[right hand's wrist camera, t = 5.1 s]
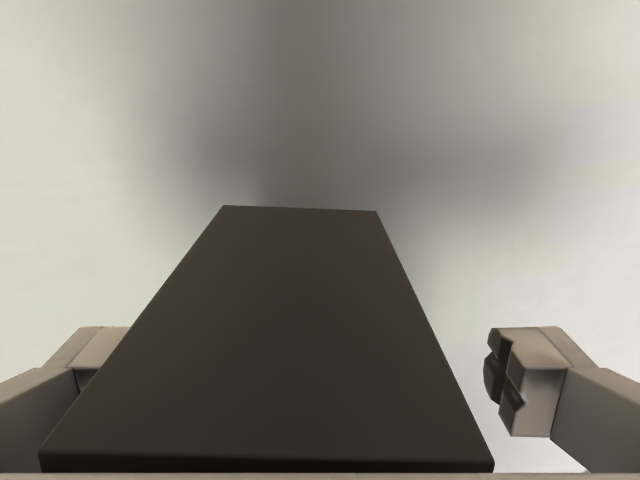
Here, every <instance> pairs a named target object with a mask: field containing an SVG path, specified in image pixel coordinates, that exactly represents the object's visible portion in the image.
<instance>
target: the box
mask: <svg viewBox="0 0 640 480" xmlns="http://www.w3.org/2000/svg"><path fill="white" fill-rule="evenodd" d="M37 454H38V459H39V463H40V467H41V471H42V473H493V470H494V466H495V462H494V459H493V457H492V455H491V453H490V451H489V448H488V446H487V444H486V442H485V440H484V438H483V436H482V434H481V432H480V429H479V427H478V425H477V423H476V421H475V419H474V417H473V415H472V413H471V410H470V408H469V406H468V404H467V402H466V400H465V398H464V396H463V394H462V391H461V389H460V387H459V385H458V383H457V381H456V379H455V377H454V375H453V372H452V370H451V368H450V366H449V364H448V362H447V360H446V358H445V356H444V353H443V351H442V349H441V347H440V345H439V343H438V341H437V339H436V336H435V334H434V332H433V330H432V328H431V326H430V324H429V322H428V320H427V317H426V315H425V313H424V311H423V309H422V307H421V305H420V303H419V301H418V298H417V296H416V294H415V292H414V290H413V288H412V286H411V284H410V282H409V279H408V277H407V275H406V273H405V271H404V269H403V267H402V265H401V263H400V260H399V258H398V256H397V254H396V252H395V250H394V248H393V246H392V244H391V241H390V239H389V237H388V235H387V233H386V231H385V229H384V227H383V225H382V222H381V220H380V218H379V216H378V214H377V212H376V211H360V210H334V209H309V208H283V207H257V206H231V205H223V206H222V208H221V209H220V210H219V212H218V213H217V214H216V216H215V217H214V218H213V220H212V221H211V222H210V223H209V225H208V226H207V227H206V229H205V230H204V231H203V233H202V234H201V235H200V237H199V238H198V239H197V241H196V242H195V243H194V245H193V246H192V247H191V249H190V250H189V251H188V252H187V254H186V255H185V256H184V258H183V259H182V260H181V262H180V263H179V264H178V266H177V267H176V268H175V270H174V271H173V272H172V274H171V275H170V276H169V278H168V279H167V280H166V281H165V283H164V284H163V285H162V287H161V288H160V289H159V291H158V292H157V293H156V295H155V296H154V297H153V299H152V300H151V301H150V303H149V304H148V305H147V307H146V308H145V309H144V311H143V312H142V313H141V314H140V316H139V317H138V318H137V320H136V321H135V322H134V324H133V325H132V326H131V328H130V329H129V330H128V332H127V333H126V334H125V336H124V337H123V338H122V340H121V341H120V342H119V343H118V345H117V346H116V347H115V349H114V350H113V351H112V353H111V354H110V355H109V357H108V358H107V359H106V361H105V362H104V363H103V365H102V366H101V367H100V369H99V370H98V371H97V372H96V374H95V375H94V376H93V378H92V379H91V380H90V382H89V383H88V384H87V386H86V387H85V388H84V390H83V391H82V392H81V394H80V395H79V396H78V398H77V399H76V400H75V401H74V403H73V404H72V405H71V407H70V408H69V409H68V411H67V412H66V413H65V415H64V416H63V417H62V419H61V420H60V421H59V423H58V424H57V425H56V427H55V428H54V429H53V431H52V432H51V433H50V434H49V436H48V437H47V438H46V440H45V441H44V442H43V444H42V445H41V446H40V448H39V449H38V453H37Z"/></svg>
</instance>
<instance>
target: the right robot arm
mask: <svg viewBox="0 0 640 480" xmlns="http://www.w3.org/2000/svg"><path fill="white" fill-rule="evenodd" d="M130 328H131V327H103V326H91V327H81V328H79V329H78V330H77V331H76V332H75V333H74V334H73V335H72V336H71V337H70V338H69V339H68V340H67V341H66V342H65V343H64V344H63V345H62V347H61V348H60V349H59V350H58V351H57V352H56V353H55V354H54V355H53V356H52V357H51V358H50V359H49V360H48V361H47V362H46V363H45V364H44V365H43V366H42V367H41V368H33V369H30V370H28V371H26V372H24V373H22V374H20V375H17V376H15V377H13V378H11V379H9V380H7V381H5V382H2V383H0V480H640V383H638V382H635V381H633V380H631V379H629V378H627V377H625V376H622V375H620V374H618V373H616V372H614V371H612V370H610V369H607V368H599V367H598V366H597V365H596V364H595V363H594V362H593V361H592V360H591V359H590V358H589V357H588V356H587V355H586V354H585V353H584V352H583V351H582V350H581V349H580V347H579V346H578V345H577V344H576V343H575V342H574V341H573V340H572V339H571V338H570V337H569V336H568V335H567V334H566V333H565V332H564V331H563V330H562V329H561V328H559V327H556V326H546V327H518V328H492V329H491V331H490V333H489V336H488V342H487V344H488V345H489V347H490V348H491V350H492V352H491V353H490V354H489V355H488V356H487V357H486V358H485V360H484V367H483V376H484V384H485V387H486V391H487V393H488V395H489V397H490V399H491V400H493V401H494V402H496V403H497V404H499V405H500V407H499V413H498V414H499V416H500V418H501V419H502V421H503V423H504V425H505V427H506V429H507V431H508V432H509V434H510V436H516V437H550V440H551V441H553V442H554V443H555V444H556V445H558V446H559V447H560V448H561V449H563V450H564V451H565V452H566V453H568V454H569V455H570V456H571V457H573V458H574V459H575V460H576V461H578V462H579V463H580V464H581V465H582V466H584V467H585V468H586V469H587V470H589V471H590V472H591V473H42V471H41V467H40V463H39V459H38V454H37V453H38V449H39V448H40V446H41V445H42V444H43V442H44V441H45V440H46V438H47V437H48V436H49V434H50V433H51V432H52V431H53V429H54V428H55V427H56V425H57V424H58V423H59V421H60V420H61V419H62V417H63V416H64V415H65V413H66V412H67V411H68V409H69V408H70V407H71V405H72V404H73V403H74V401H75V400H76V399H77V398H78V396H79V395H80V394H81V392H82V391H83V390H84V388H85V387H86V386H87V384H88V383H89V382H90V380H91V379H92V378H93V376H94V375H95V374H96V372H97V371H98V370H99V369H100V367H101V366H102V365H103V363H104V362H105V361H106V359H107V358H108V357H109V355H110V354H111V353H112V351H113V350H114V349H115V347H116V346H117V345H118V343H119V342H120V341H121V340H122V338H123V337H124V336H125V334H126V333H127V332H128V330H129V329H130Z"/></svg>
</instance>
